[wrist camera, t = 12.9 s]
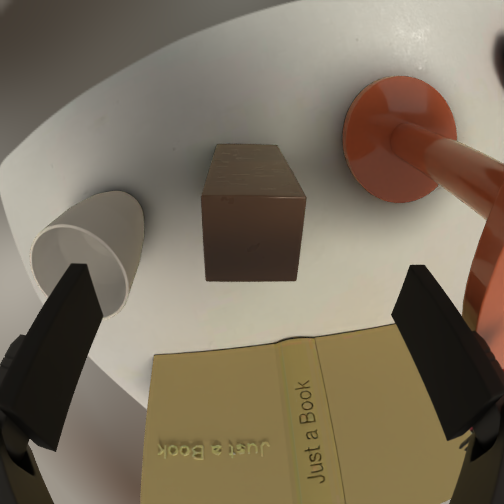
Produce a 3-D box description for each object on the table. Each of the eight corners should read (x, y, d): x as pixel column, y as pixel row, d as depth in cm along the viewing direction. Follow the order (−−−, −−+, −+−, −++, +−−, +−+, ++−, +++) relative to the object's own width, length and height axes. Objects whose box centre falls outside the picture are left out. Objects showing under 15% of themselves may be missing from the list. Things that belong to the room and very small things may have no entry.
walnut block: (216, 144, 25) (200, 195, 14) (277, 144, 25) (306, 197, 15) (217, 199, 27) (205, 281, 17) (274, 199, 27) (296, 281, 17)
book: (427, 312, 36) (489, 480, 17) (412, 344, 41) (458, 491, 22) (151, 350, 37) (134, 538, 18) (170, 377, 42) (162, 537, 23)
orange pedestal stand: (336, 51, 21) (540, 35, 3) (466, 85, 21) (639, 149, 4) (322, 205, 28) (421, 395, 11) (442, 212, 29) (565, 343, 11)
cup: (99, 257, 30) (61, 323, 21) (71, 186, 25) (13, 238, 17) (169, 244, 29) (146, 315, 21) (144, 164, 25) (100, 212, 17)
